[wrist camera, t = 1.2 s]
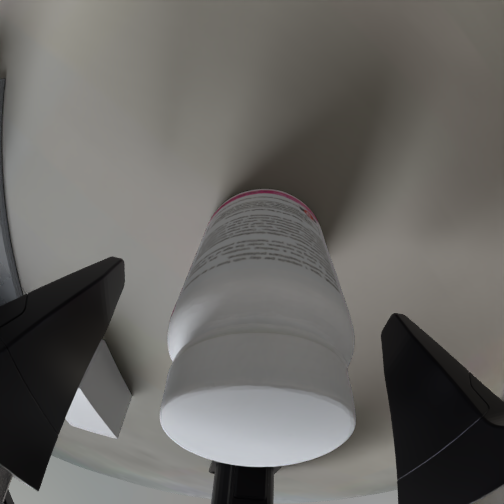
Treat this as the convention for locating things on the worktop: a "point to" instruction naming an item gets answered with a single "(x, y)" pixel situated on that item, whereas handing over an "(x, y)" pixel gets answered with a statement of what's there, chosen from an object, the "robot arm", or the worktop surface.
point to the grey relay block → (100, 396)
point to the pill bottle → (260, 340)
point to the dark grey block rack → (6, 239)
